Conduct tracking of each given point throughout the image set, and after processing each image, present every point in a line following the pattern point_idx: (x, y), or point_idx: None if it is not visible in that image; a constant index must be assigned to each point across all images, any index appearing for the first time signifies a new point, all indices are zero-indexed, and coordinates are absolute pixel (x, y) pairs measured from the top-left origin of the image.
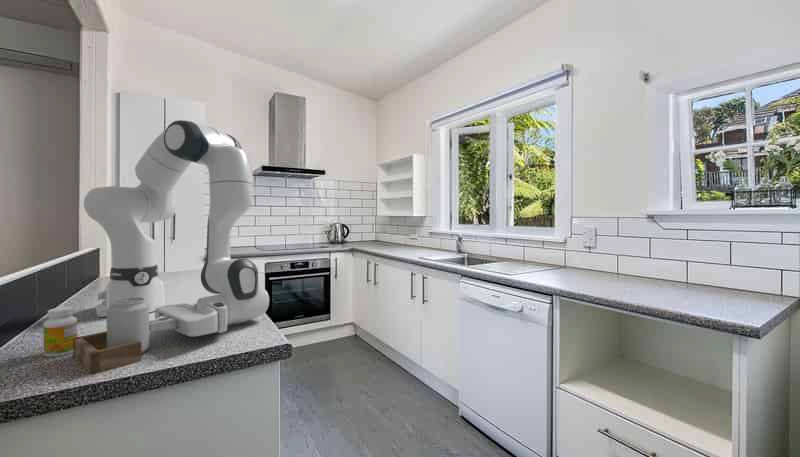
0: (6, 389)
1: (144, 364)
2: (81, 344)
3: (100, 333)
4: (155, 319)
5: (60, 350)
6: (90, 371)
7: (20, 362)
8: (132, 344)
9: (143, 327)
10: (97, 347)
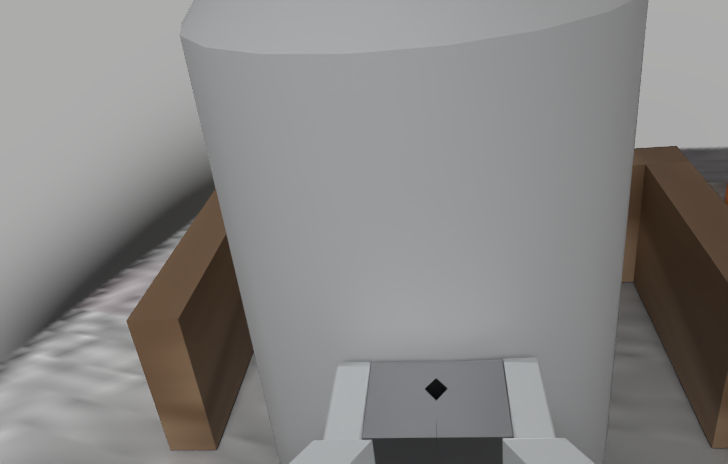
0: None
1: (79, 443)
2: None
3: (692, 215)
4: (547, 446)
5: (726, 202)
6: None
7: (721, 165)
8: (155, 287)
9: (236, 275)
10: (662, 301)
